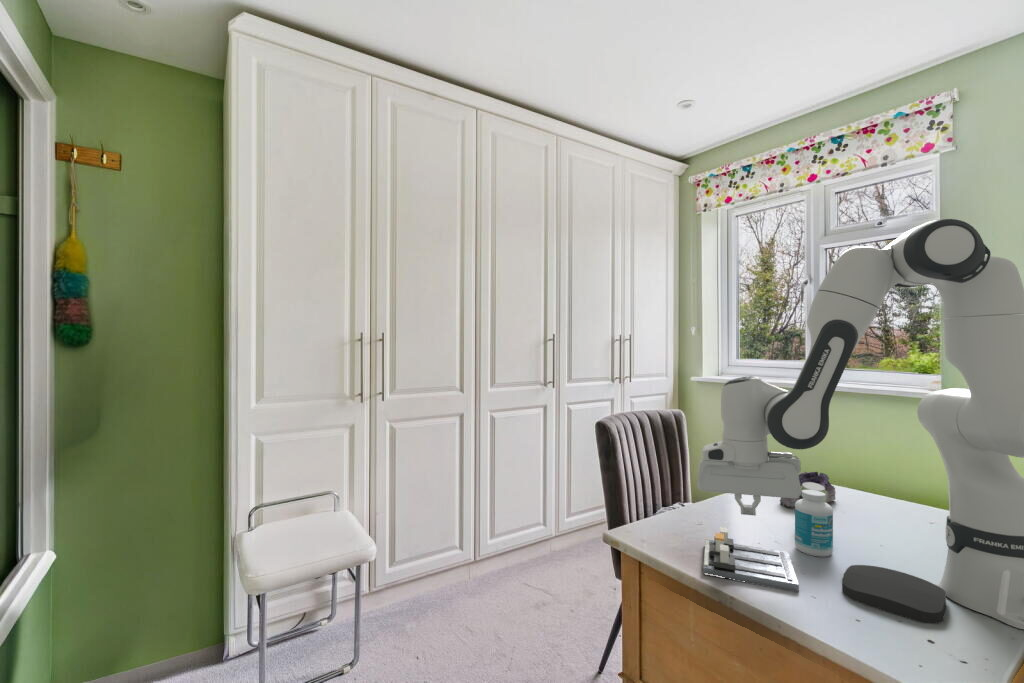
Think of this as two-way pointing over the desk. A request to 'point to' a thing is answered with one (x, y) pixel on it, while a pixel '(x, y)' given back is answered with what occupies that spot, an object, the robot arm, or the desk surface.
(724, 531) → the breaker
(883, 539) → the desk surface
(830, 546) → the pill bottle
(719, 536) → the breaker trip
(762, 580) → the panel
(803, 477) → the geode
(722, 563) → the breaker
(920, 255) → the robot arm
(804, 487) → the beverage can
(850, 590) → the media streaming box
